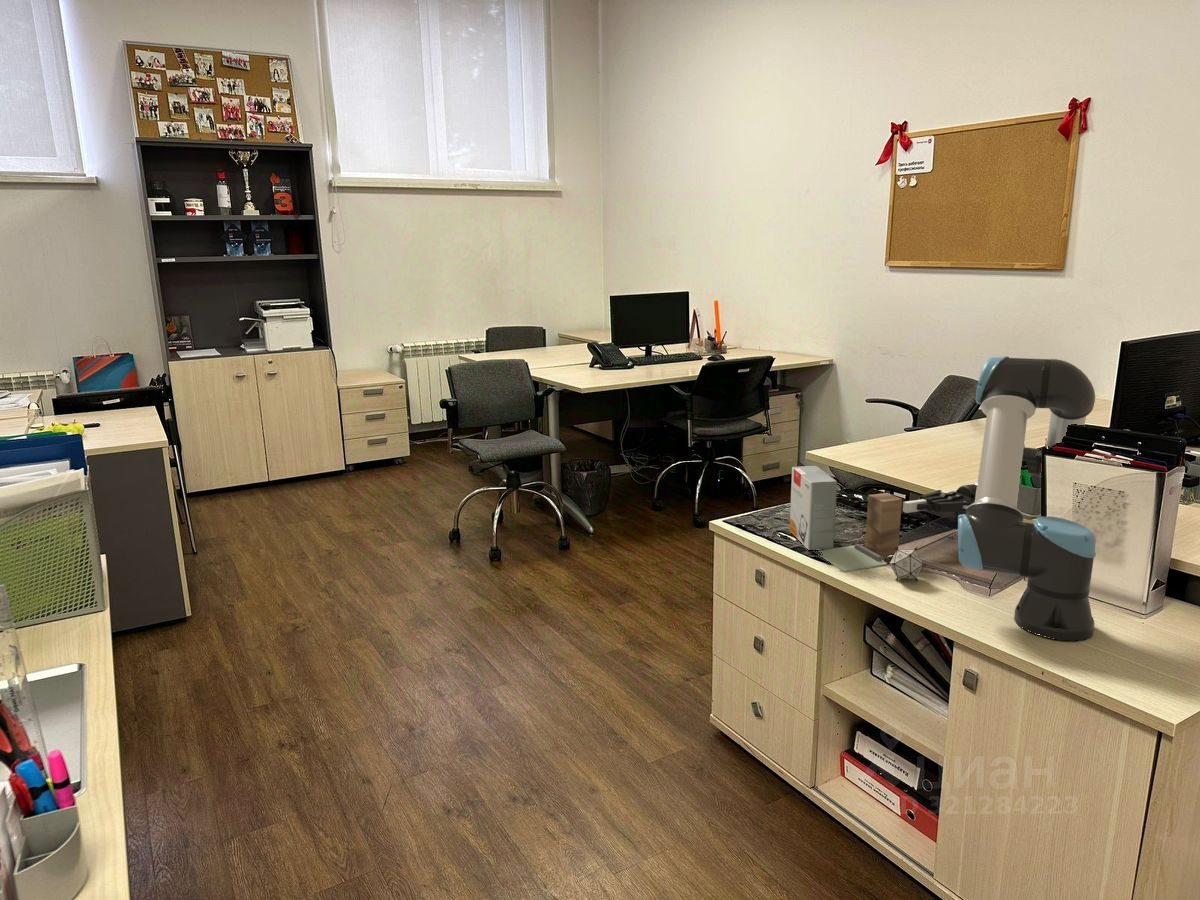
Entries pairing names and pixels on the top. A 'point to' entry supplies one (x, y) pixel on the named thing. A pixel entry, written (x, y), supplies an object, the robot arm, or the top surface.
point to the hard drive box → (813, 507)
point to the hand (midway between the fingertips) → (904, 507)
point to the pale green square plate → (852, 558)
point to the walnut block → (883, 524)
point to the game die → (906, 564)
